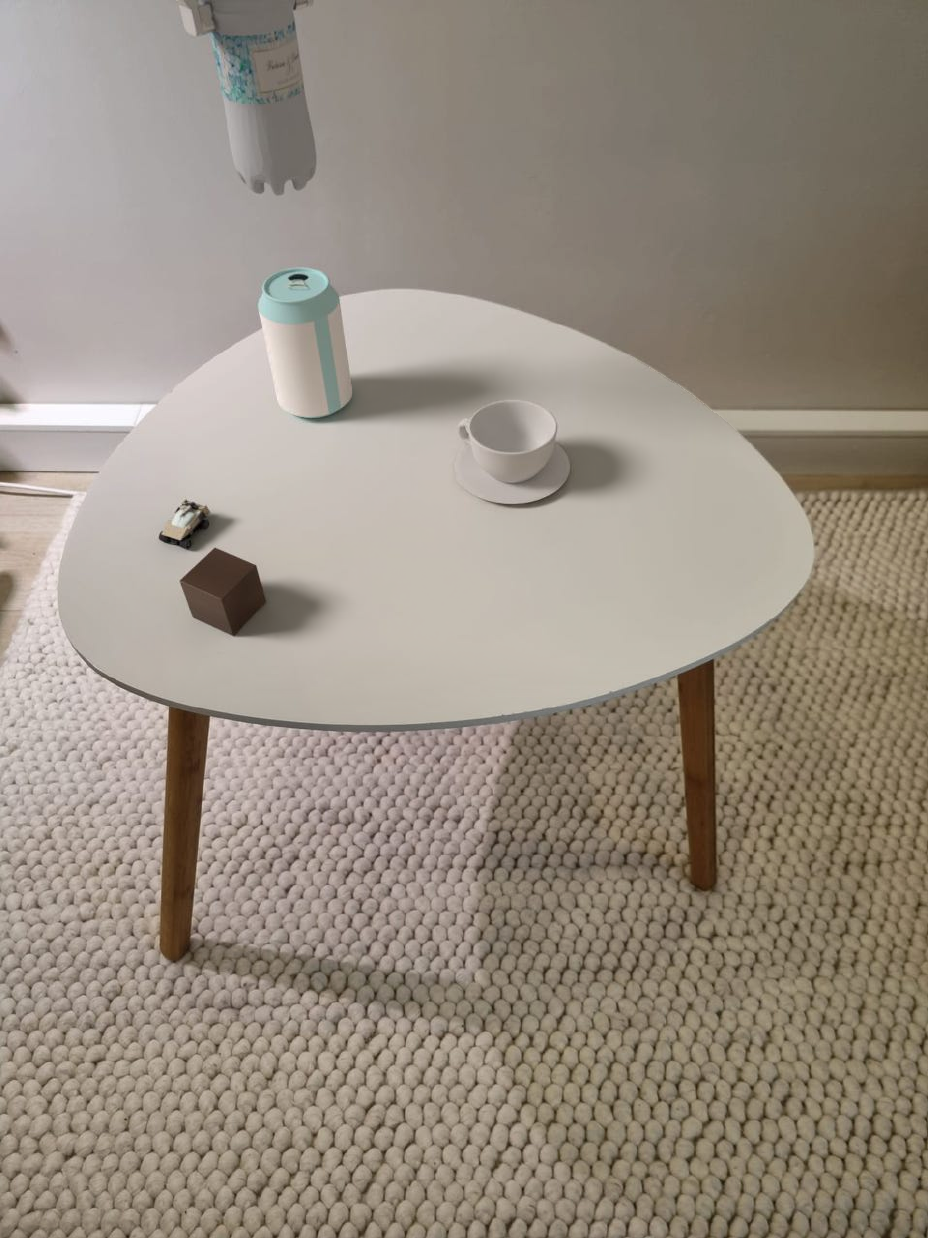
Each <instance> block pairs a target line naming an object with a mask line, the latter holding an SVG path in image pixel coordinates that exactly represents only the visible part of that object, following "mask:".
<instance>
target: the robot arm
mask: <svg viewBox="0 0 928 1238" xmlns="http://www.w3.org/2000/svg"><path fill="white" fill-rule="evenodd" d="M174 1H175V2H176V4H178V7H179V12H180V16H181V21H182V25H183V28H184V31H185V33H186V34H187V35H189V36H191V37H193V38H199V37H202V36H205V35H206V36H207V35H210V33H213V32H215V23H214V21H213V20H212V17H213V12H212V7H211V4H210V3H208V2H206V1H203V0H174ZM313 5H314V0H295V4H294V7H293V11H297V10H302V9H306V8H309V7H313Z"/></svg>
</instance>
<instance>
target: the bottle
mask: <svg viewBox="0 0 928 1238" xmlns="http://www.w3.org/2000/svg"><path fill="white" fill-rule="evenodd" d="M203 1H206V2H208V3H210V4H211V7H212V12H213V17H212V20H213V21H214V23H215V32H213V33H209V35H210V39H211V45H212V50H213V55H214V59H215V64H216V70H217V75H218V79H219V84H220V89H221V95H222V100H223V105H224V111H225V118H226V126H227V133H228V134H227V135H228V139H229V145H230V153H231V158H232V161H233V165H234V168H235V171H236V173H237V176H238V177H239V178H240V180H241V182H242V183H243V184H245V185H246V186H247V187H248V188H249V190H250V191H252V192H253V193H255V194H258V195H261V194H263V193H264V192H265V183H266V184H267V185H269V188H270V189H271V191H272V193H273V195H275V196H283V195H284V194H285V185H286V183H287V182H288V181H291V183H292V188H293V189H294V190H296V191H297V192H298V191H302V190H303V189H305V188H306V186H307V184H308V182H309V181H311V180H312V179H313V178H314V176H315V174H316V170H317V169H316V168H317V163H318V161H317V148H316V141H315V136H314V131H313V127H312V122H311V121H312V120H311V117H310V112H309V108H308V103H307V97H306V91H305V84H304V76H303V69H302V63H301V61H302V60H301V54H300V49H299V47H300V46H299V42H298V41H299V40H298V34H297V33H298V32H297V27H296V19H295V14H294V10H293V7H294V4H295V0H203Z"/></svg>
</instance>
